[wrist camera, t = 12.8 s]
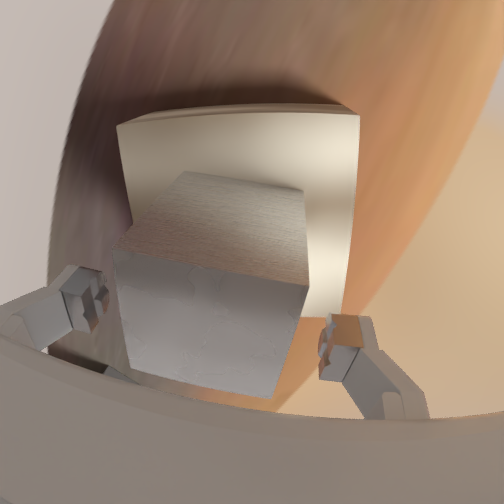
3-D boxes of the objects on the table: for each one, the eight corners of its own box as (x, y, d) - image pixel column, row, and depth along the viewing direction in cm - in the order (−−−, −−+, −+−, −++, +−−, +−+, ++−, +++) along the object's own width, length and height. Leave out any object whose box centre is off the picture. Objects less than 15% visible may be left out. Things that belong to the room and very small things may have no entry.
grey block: (280, 287, 17) (271, 398, 11) (179, 268, 17) (130, 367, 11) (303, 190, 14) (309, 286, 8) (184, 170, 14) (111, 248, 8)
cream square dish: (332, 268, 22) (339, 317, 18) (178, 263, 23) (155, 308, 19) (342, 104, 16) (360, 115, 12) (155, 111, 18) (116, 125, 14)
